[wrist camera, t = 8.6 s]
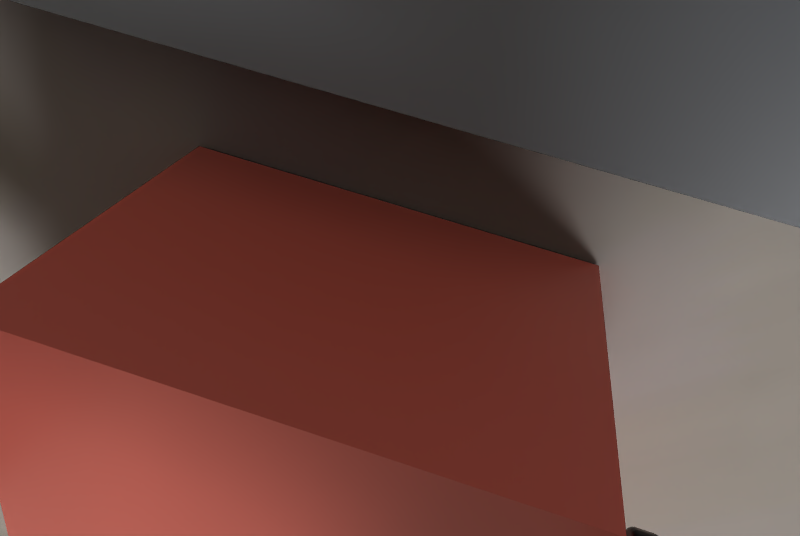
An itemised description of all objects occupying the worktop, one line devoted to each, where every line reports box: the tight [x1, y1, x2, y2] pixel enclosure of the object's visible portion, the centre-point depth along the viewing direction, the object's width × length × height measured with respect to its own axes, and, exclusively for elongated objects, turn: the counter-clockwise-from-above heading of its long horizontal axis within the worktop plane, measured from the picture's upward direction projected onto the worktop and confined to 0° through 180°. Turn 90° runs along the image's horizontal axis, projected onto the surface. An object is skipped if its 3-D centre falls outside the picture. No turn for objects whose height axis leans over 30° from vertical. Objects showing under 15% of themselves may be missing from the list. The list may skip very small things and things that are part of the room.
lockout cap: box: [0, 146, 626, 536], centre depth 9 cm, size 6×6×4 cm
